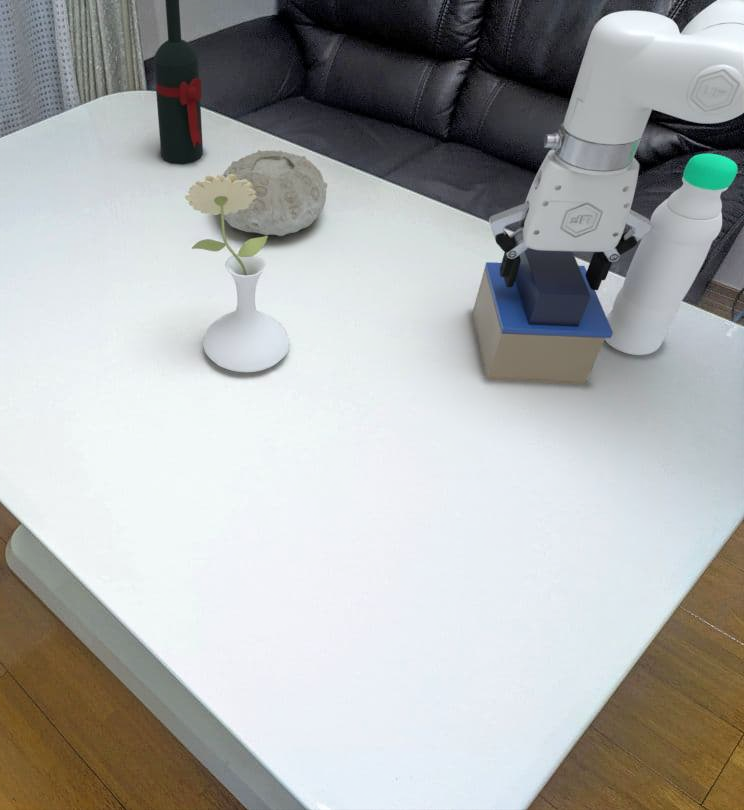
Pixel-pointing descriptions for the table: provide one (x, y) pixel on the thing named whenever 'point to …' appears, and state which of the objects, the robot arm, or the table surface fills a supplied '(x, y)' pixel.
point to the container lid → (516, 322)
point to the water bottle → (670, 256)
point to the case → (551, 288)
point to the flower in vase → (238, 285)
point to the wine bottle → (178, 94)
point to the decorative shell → (278, 193)
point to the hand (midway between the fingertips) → (549, 282)
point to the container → (530, 349)
